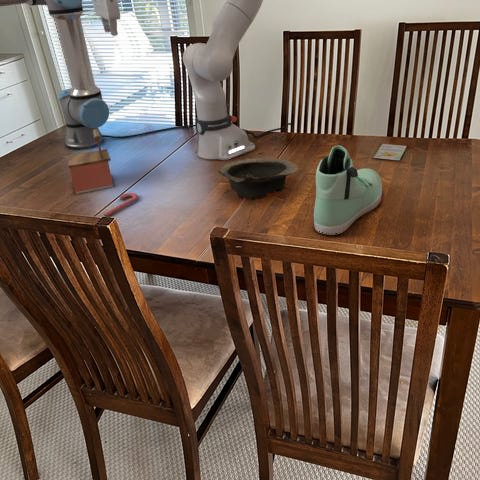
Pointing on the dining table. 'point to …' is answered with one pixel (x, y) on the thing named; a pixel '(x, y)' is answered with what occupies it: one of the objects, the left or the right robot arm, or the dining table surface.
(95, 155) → the lid
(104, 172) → the chest
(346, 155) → the sneaker
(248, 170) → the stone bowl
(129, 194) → the candy cane
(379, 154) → the baking ingredient package
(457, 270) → the dining table surface
